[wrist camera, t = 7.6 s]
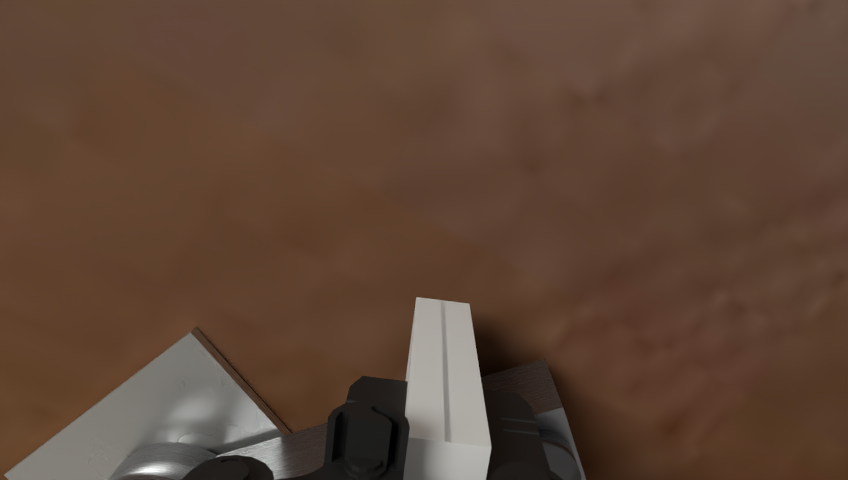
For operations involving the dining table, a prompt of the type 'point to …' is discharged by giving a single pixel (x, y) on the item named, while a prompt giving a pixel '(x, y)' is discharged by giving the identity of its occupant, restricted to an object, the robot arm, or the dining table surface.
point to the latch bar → (304, 450)
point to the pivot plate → (158, 416)
